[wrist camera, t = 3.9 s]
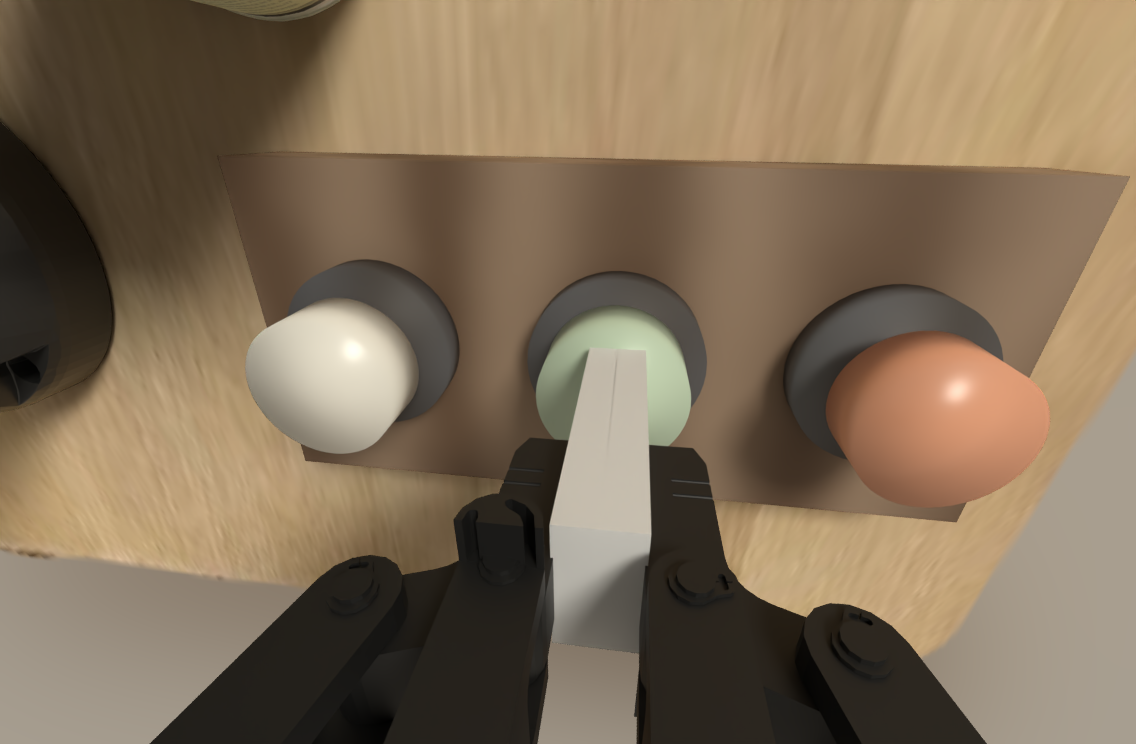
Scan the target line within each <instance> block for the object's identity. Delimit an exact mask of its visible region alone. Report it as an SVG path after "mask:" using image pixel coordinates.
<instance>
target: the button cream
mask: <svg viewBox="0 0 1136 744" xmlns="http://www.w3.org/2000/svg"><path fill="white" fill-rule="evenodd" d="M245 370H246V378H247V382H248V386H249V389H250V391H251V394H252V396H253V398H254V400H255V402H256V403H257V405H258V406H259V408H260V409H261V411H262V412H263V413H264V415H265V416H266V417H267V418H268V419H269V420H270V421H271V422H272V423H273V424H274V425H275V426H276V427H277V428H278V429H279V430H280V431H282V432H283V433H284V434H286V435H287V436H289V437H290V438H292V439H293V440H295V441H297V442H298V443H300V444H303V445H305V446H307V447H310V448H312V449H315V450H319V451H322V452H327V453H335V454H346V453H353V452H358V451H361V450H364V449H366V448H368V447H370V446H372V445H373V444H374V443H375V442H377V441H378V440H379V439H380V438H381V437H382V435H383V434H384V433H385V432H386V431H387V429H388V428H389V427H390V426H391V425H392V423H393V422H394V421H395V420H396V418H397V417H398V416H399V415H400V414H401V412H402V411H403V410H404V409H405V408H406V406H407V405H408V404H409V403H410V401H411V400H412V398H413V397H414V395H415V392H416V390H417V386H418V380H419V370H418V363H417V359H416V356H415V353H414V350H413V348H412V346H411V344H410V342H409V341H408V339H407V337H406V336H405V334H404V333H403V332H402V331H401V329H400V328H399V327H398V326H397V325H396V324H395V323H394V322H393V321H392V320H391V319H390V318H388V317H387V316H386V315H385V314H383V313H382V312H380V311H379V310H377V309H375V308H373V307H371V306H369V305H367V304H365V303H362V302H359V301H356V300H352V299H346V298H328V299H323V300H319V301H316V302H314V303H312V304H310V305H308V306H307V307H305V308H303V309H301V310H299V311H297V312H295V313H294V314H292V315H290V316H288V317H286V318H284V319H283V320H281V321H279V322H277V323H275V324H273V325H271V326H270V327H268V328H266V329H265V330H263V331H262V332H261V333H259V334H258V335H257V337H256V338H255V339H254V340H253V342H252V343H251V345H250V347H249V350H248V352H247V357H246V367H245Z"/></svg>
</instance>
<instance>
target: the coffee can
mask: <svg viewBox="0 0 1136 744" xmlns="http://www.w3.org/2000/svg"><path fill="white" fill-rule="evenodd" d="M191 1H195V2H200V3H204V4H208V5H212V6H216V7H220V8H224V9H226V10H229V11H231V12H234V13H237V14H240V15H243V16H247V17H251V18H255V19H260V20H268V21H279V22H283V21H290V20H297V19H301V18H305V17H310V16H313V15H315V14H317V13H319V12H322V11H324V10H326V9H328V8H330V7H332V6H333V5H335V4H336V3H338V2H339V1H341V0H191Z"/></svg>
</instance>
